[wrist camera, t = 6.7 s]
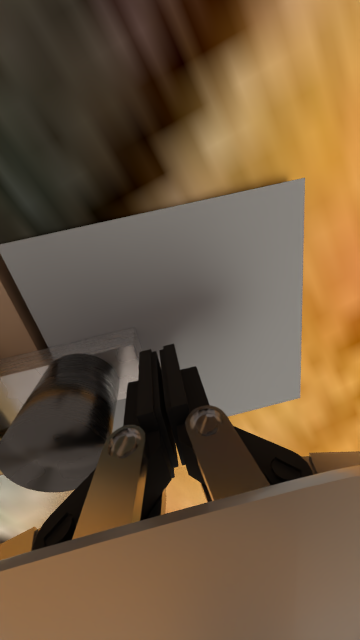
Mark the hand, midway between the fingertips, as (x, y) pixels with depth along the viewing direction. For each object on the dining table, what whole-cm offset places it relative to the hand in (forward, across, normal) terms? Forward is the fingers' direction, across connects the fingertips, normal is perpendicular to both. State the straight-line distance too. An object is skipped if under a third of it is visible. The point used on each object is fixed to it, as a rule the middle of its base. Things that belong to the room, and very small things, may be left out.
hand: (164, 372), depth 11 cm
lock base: (+4, +6, 0) cm, 8 cm away
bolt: (+3, +7, 0) cm, 8 cm away
